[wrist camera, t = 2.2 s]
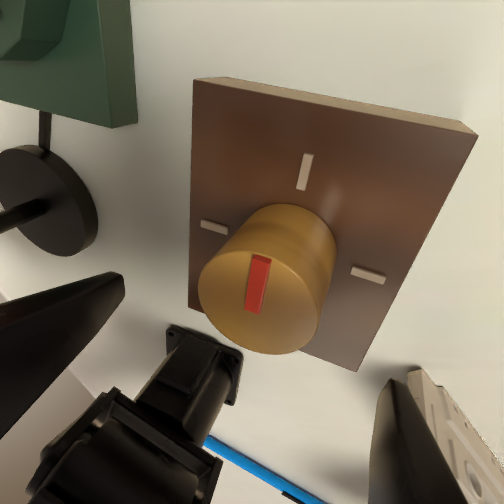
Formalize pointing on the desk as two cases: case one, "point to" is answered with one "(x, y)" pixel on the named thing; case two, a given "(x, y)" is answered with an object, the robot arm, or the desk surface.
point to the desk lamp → (45, 197)
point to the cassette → (458, 442)
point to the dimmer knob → (270, 280)
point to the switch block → (69, 59)
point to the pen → (261, 473)
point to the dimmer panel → (323, 190)
